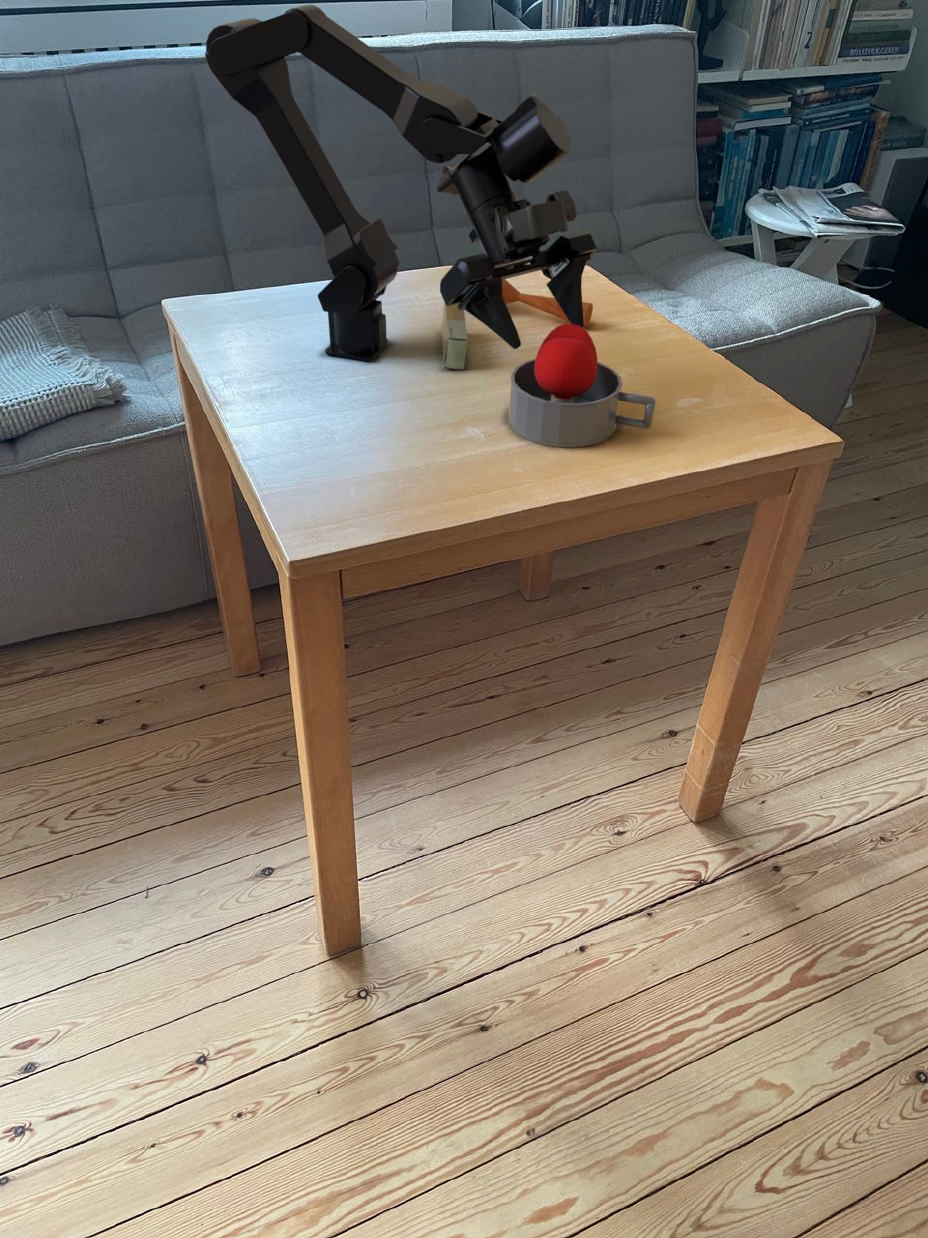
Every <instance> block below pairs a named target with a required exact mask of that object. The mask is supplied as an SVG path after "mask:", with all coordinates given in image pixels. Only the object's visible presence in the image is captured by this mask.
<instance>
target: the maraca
mask: <svg viewBox="0 0 928 1238" xmlns="http://www.w3.org/2000/svg"><path fill="white" fill-rule="evenodd" d="M502 296H503V299H504V302H505V304H506V305H507V304H513V303H517V302H518V303H519V302H520V303H522V304H524V305H528V306H529V307H532V308H535V309H537V310H539V311H542V312H544V313H547V314H550V315H551V316H554V317H557V318H560V319H562V320H565V321H566V322H569V323H570V321H569V320H568V318H567V317H566V315H565V314H564V312H563V310H562V309H561V307H560V306H559V304H558V302H557V301H556V299H555V298H554V297H549V296H544V295H543V296H542V295H535V294H527V293H522V292H520V291H519V290H518V289H517V288H516V287H514V286H513V285H512V284H511V283H510V282H509V281H508V280H507V279H504V280H502ZM582 305H583V318H584V327H583V328H584V329H586V328H587V327H588V325H589V324H590V321H591V319H592V316H593V309H594V304H593V303H591V302H585V301H582Z"/></svg>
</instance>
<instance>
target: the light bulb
mask: <svg viewBox="0 0 928 1238" xmlns="http://www.w3.org/2000/svg"><path fill="white" fill-rule="evenodd" d="M535 358H536V360H535V365H534V372H535V377H536V380H537V382H538V384H539V386H540V387H541V388H542V389H543V390H544V391H546V392H548V393H550V394H551V401H554V402H560V403H574V400H575V396H579V395H582V394H584V393H585V392H586V391H588V390H589V389H590V388H591V387H592V385H593V383H594V381H595V379H596V375H597V364H598V362H599V361H598V354H597V349H596V345H595V343H594V341H593V339H592V336H591V335H590V333H589V332H588V331H587V329H586V328H584V327H583V328H582V327H581V326H578V325H574V324H571V323H564V324H560V325H558V326H556V327H555V328H553V329H552V330H551V331H550V332H549V333H548V335H546V337H545V338H544V339H543V341H542V343H541V344H540V347H539V348H538V350H537V354H536V356H535Z"/></svg>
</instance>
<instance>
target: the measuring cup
mask: <svg viewBox="0 0 928 1238" xmlns="http://www.w3.org/2000/svg"><path fill="white" fill-rule="evenodd" d="M535 360H536V357H535V358H531V359H529V360H526V361H524V362H522V363H520V364H519V365H517V366H516V367H515V368H514V369H513V370H512V372H511V374H510V380H509V381H510V384H509V402H508V403H509V404H508V423H509V425H510V427H511V428H512V430H513V431H514V432H516V433H517V434H518V435H519V436H521V437H522V438H524V439H526V440H529V441H531V442H534V443H537V444H539V445H543V446H548V447H555V448H582V447H588V446H593V445H595V444H599V443H601V442H603V441H606V440H608V438H610V437H611V436H612V435H613V434H614V432H615V430H616V428H617V426H618V425H619V426H625V427H630V428H631V427H632V428H637V429H643V430H650V429H651V428H652V427H653V421H654V414H655V409H656V403H657V401H656V398H655V397H654V396H650V395H643V394H636V393H632V392H631V393H629V392H626V391H625V392H624V391H623V382H622V378H621V376H620V375H619V373H617V372H616V371H615V370H614V369H613V368H612V367H609V366H607V365H606V364H604V363H602V362H599V361H598V364H597V375H596V379H595V381H594V383H593V385H592V387H591V388H590V389H589V390H588V391H586V392H585V393H584V394H582V395H579V396H575V400H574V403H560V402H554V401H551V394H550V393H548V392H546V391H544V390H543V389H542V388H541V387H540V386H539V384H538V382H537V380H536V377H535V372H534V365H535ZM621 402H623V403H630V404H636V405H642V406H644V407H645V408H644V414H643V418H637V417H631V416H625V415H619V413H620V405H621Z"/></svg>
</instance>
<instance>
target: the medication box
mask: <svg viewBox="0 0 928 1238" xmlns="http://www.w3.org/2000/svg"><path fill="white" fill-rule="evenodd" d="M458 305H459V304H456V305H452V306H446V304H445V302H444V303H443V311H442V312H443V313H442V320H441V327H440V334H441V335H440V336H441V347H442V348H441V349H442V362H443V363H442V364H443V369H447V370H453V371H464V369H465V363H466V357H467V356H466V355H467V350H468V344H469V339H468V332H467V331H468V330H467V325H466V323H467V322H466V316H465V310H462V311H459V309H458V308H457V306H458Z"/></svg>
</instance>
